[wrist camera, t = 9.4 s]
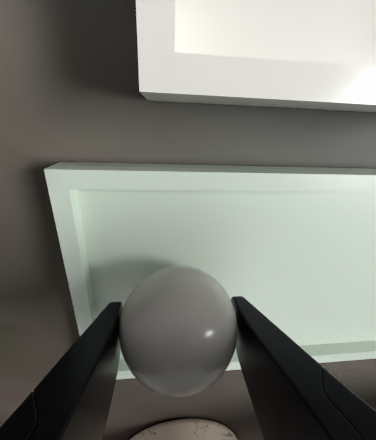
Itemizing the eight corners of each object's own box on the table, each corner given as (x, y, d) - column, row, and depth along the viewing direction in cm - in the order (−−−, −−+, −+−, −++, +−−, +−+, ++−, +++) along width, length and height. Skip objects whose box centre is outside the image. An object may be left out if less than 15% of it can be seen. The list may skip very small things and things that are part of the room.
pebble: (217, 317, 11) (245, 419, 7) (130, 322, 10) (113, 433, 7) (226, 244, 9) (268, 327, 6) (124, 246, 9) (97, 338, 5)
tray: (404, 335, 14) (424, 354, 13) (96, 357, 12) (89, 381, 11) (503, 171, 10) (545, 178, 9) (59, 161, 8) (43, 169, 7)
